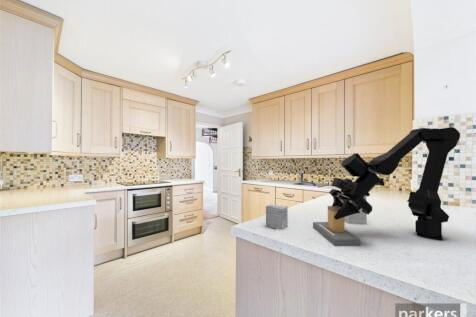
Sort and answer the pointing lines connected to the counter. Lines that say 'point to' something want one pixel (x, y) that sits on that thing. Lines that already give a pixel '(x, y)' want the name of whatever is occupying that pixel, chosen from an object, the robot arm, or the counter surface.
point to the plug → (332, 222)
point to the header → (336, 235)
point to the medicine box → (276, 216)
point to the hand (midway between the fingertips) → (331, 216)
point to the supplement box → (357, 217)
